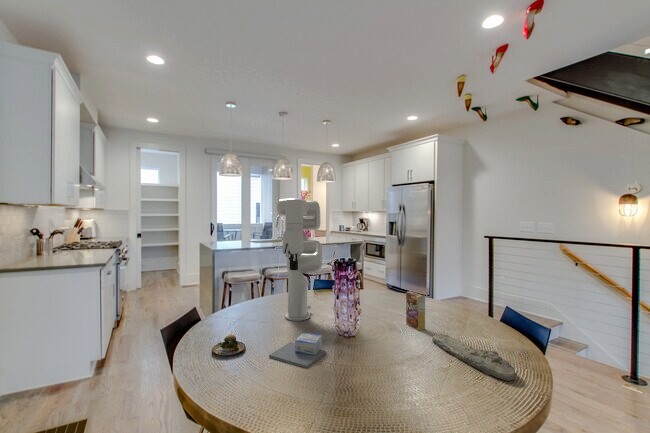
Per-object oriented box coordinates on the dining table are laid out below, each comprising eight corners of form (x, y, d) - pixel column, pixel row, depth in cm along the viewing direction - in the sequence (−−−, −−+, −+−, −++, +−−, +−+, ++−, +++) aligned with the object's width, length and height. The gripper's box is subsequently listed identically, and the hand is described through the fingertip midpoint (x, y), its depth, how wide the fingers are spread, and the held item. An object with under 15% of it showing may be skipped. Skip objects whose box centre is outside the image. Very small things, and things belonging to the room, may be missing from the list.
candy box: (405, 324, 146) (405, 291, 146) (412, 323, 148) (412, 290, 148) (417, 330, 138) (418, 296, 138) (425, 329, 140) (425, 295, 140)
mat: (290, 344, 123) (290, 342, 123) (326, 353, 115) (326, 351, 115) (269, 357, 111) (269, 355, 111) (307, 368, 103) (307, 365, 103)
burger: (204, 356, 112) (205, 335, 112) (226, 343, 123) (226, 324, 123) (232, 361, 108) (233, 340, 108) (252, 348, 119) (252, 328, 119)
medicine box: (322, 334, 119) (315, 343, 111) (322, 346, 119) (315, 355, 111) (302, 332, 121) (294, 340, 113) (302, 343, 121) (294, 353, 113)
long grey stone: (445, 341, 130) (425, 346, 126) (444, 329, 130) (425, 333, 127) (526, 378, 98) (503, 386, 94) (524, 361, 98) (501, 368, 94)
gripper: (296, 226, 143) (296, 266, 143) (276, 227, 130) (276, 271, 130) (310, 227, 139) (310, 268, 139) (291, 228, 126) (290, 273, 126)
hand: (293, 269), depth 134 cm, fingers closed
